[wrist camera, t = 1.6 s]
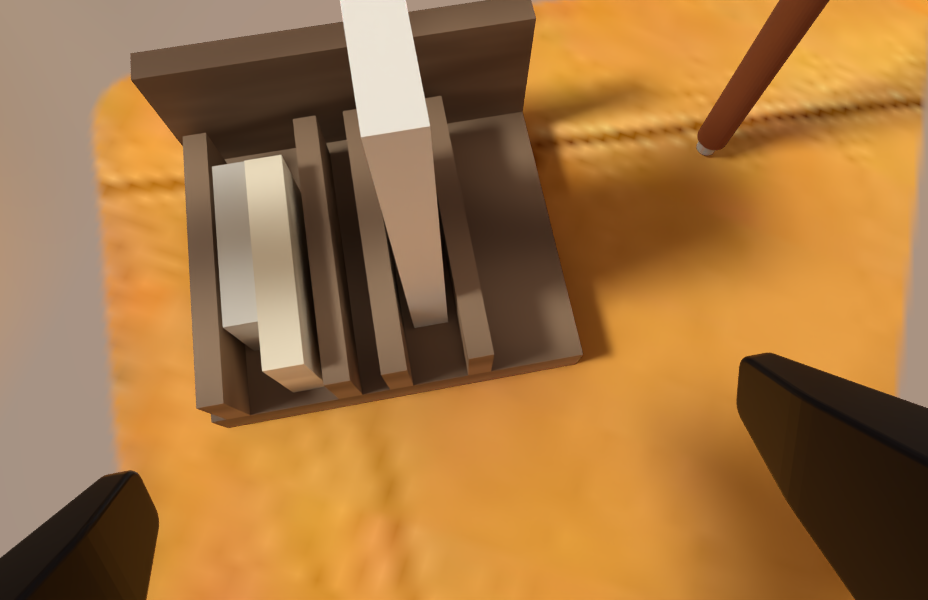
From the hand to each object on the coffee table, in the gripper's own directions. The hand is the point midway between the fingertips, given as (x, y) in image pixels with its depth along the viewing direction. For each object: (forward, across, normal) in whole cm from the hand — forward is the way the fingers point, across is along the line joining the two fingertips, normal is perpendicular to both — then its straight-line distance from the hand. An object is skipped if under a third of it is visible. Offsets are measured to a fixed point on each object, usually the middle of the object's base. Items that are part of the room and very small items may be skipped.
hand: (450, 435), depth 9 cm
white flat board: (+14, 0, +3) cm, 14 cm away
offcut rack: (+16, +1, +3) cm, 16 cm away
